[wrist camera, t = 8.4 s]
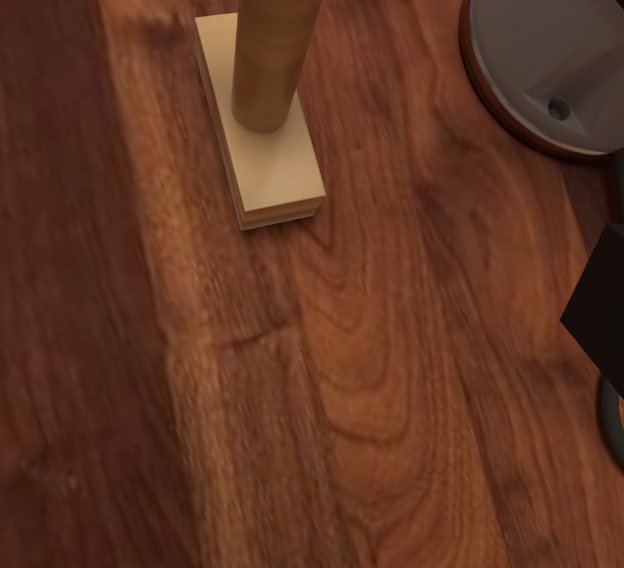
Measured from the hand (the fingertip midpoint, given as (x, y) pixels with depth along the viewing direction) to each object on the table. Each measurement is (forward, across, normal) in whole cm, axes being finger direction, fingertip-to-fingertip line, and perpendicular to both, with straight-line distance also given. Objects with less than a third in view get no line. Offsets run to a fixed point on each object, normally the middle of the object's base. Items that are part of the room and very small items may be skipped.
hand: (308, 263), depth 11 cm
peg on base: (+19, 0, -4) cm, 20 cm away
